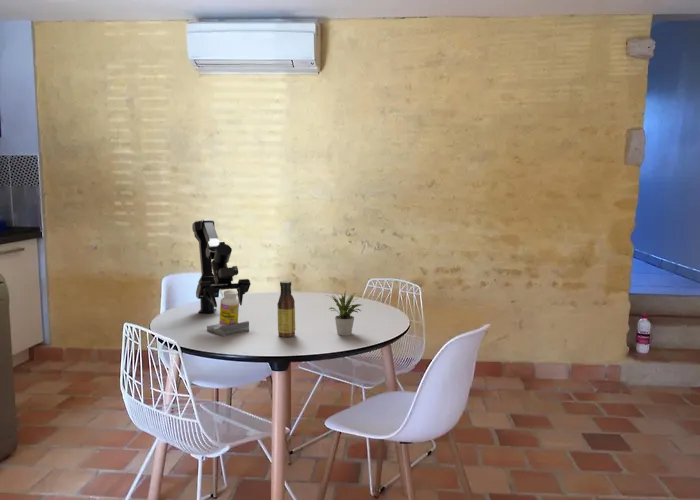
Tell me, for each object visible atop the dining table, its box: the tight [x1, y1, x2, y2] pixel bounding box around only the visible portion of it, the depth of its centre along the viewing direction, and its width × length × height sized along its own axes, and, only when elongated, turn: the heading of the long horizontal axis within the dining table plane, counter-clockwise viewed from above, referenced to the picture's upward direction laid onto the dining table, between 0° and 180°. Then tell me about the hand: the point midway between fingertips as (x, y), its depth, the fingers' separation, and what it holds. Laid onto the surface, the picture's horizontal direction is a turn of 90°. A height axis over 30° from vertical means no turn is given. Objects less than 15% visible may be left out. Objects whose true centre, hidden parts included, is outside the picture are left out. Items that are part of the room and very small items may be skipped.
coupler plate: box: [206, 320, 250, 337], centre depth 201 cm, size 11×11×4 cm
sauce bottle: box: [277, 280, 296, 338], centre depth 194 cm, size 6×6×20 cm
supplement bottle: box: [218, 289, 240, 326], centre depth 200 cm, size 7×7×13 cm
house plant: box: [326, 290, 363, 336], centre depth 197 cm, size 14×14×16 cm
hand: (228, 305), depth 198 cm, fingers open, 9 cm apart
